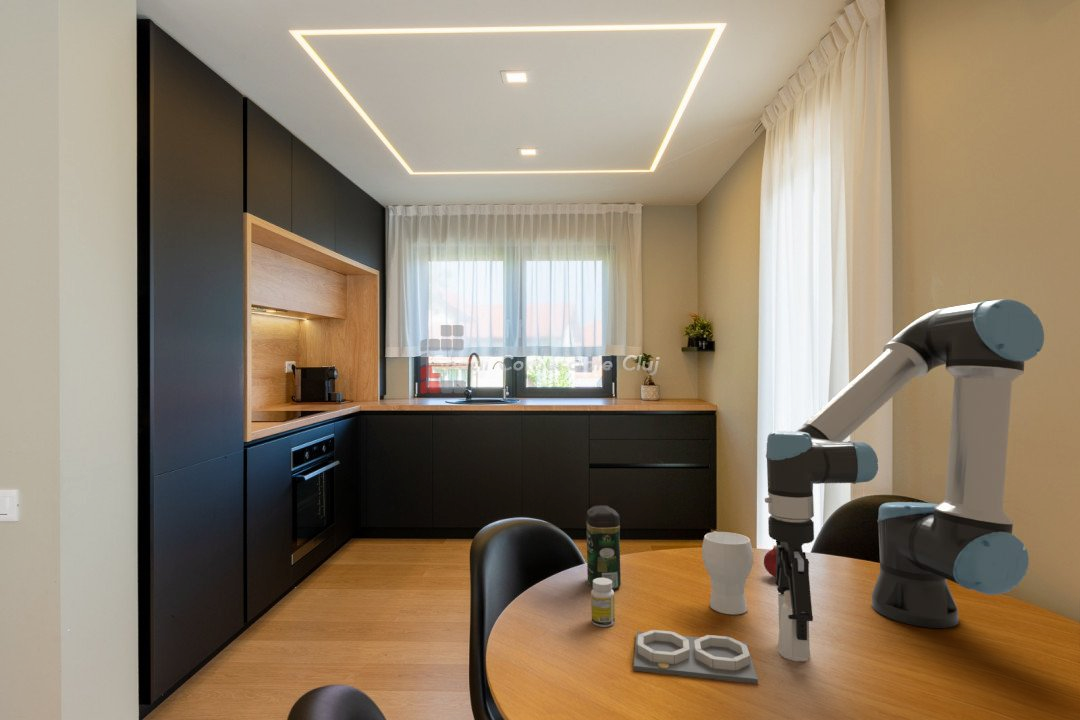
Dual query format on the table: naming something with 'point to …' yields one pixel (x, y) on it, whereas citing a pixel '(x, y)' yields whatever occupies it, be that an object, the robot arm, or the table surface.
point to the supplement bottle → (602, 603)
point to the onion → (771, 561)
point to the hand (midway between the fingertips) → (793, 642)
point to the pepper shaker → (786, 631)
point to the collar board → (694, 656)
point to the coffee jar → (603, 545)
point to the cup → (727, 570)
